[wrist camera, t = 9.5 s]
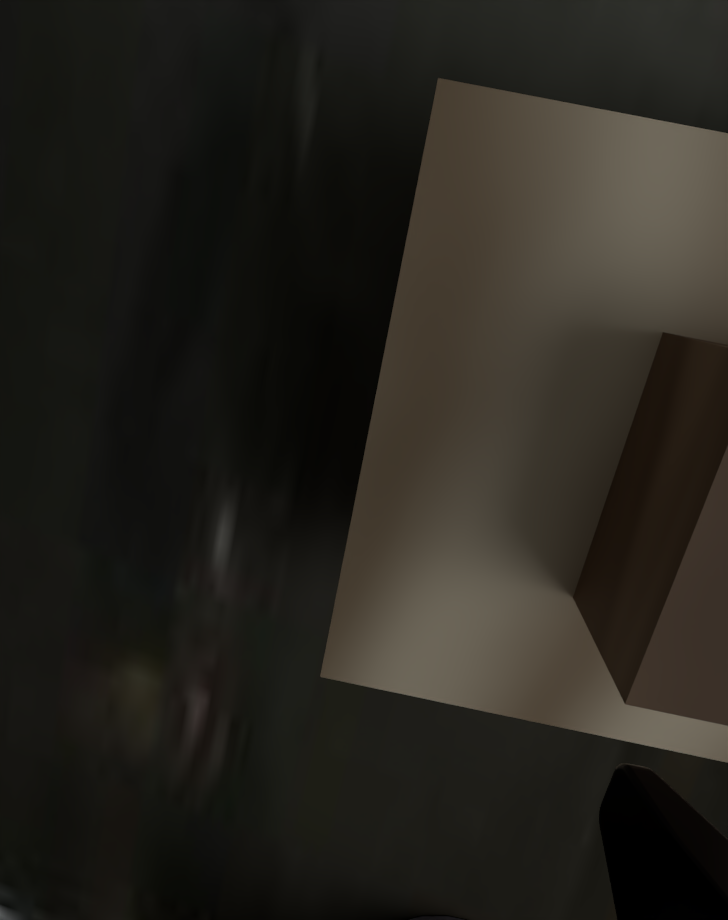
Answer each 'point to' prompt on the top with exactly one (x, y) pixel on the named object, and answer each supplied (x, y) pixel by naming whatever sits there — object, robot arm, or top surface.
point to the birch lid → (552, 430)
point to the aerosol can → (436, 918)
